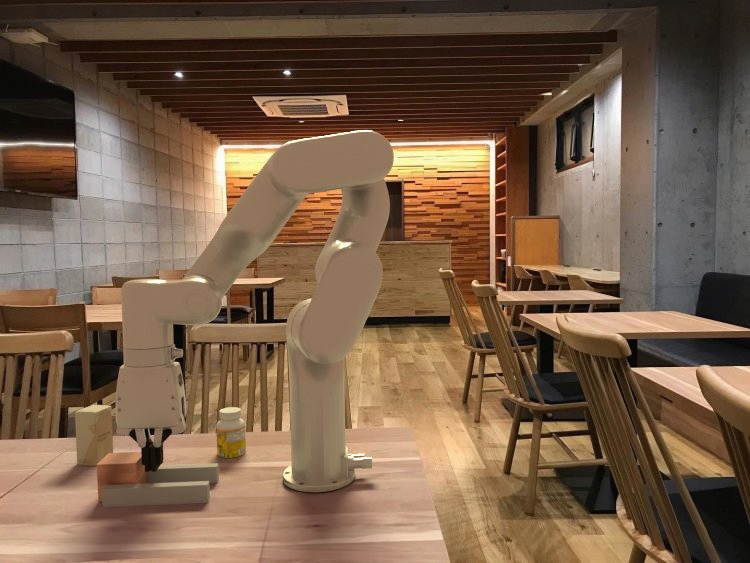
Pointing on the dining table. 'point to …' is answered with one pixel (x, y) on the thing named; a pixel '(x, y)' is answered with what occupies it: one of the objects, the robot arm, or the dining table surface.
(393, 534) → the dining table surface
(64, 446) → the dining table surface
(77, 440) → the box
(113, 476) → the block
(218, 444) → the supplement bottle
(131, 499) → the chute
